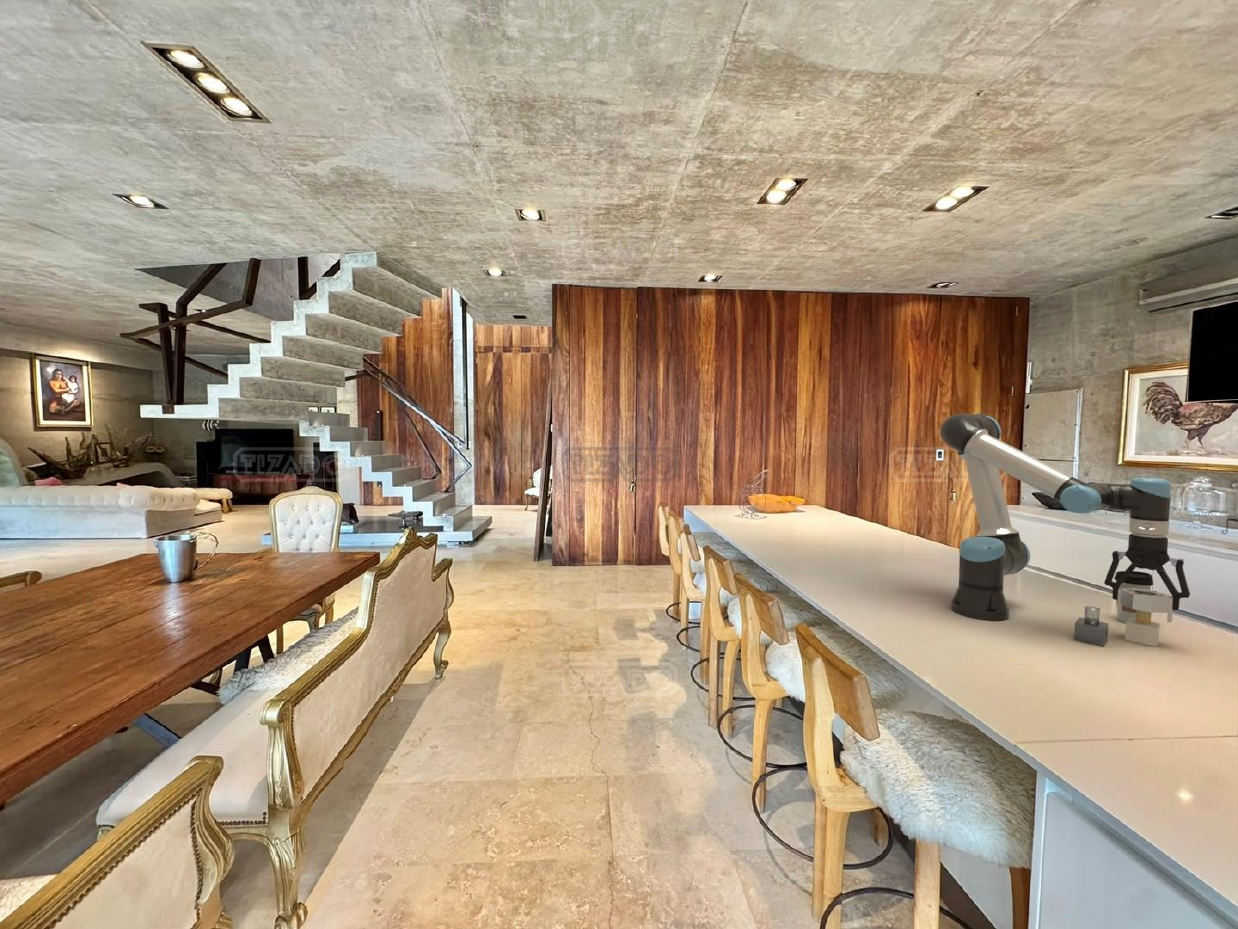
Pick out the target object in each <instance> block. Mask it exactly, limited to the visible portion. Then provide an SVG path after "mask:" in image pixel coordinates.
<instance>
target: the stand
mask: <svg viewBox="0 0 1238 929" xmlns="http://www.w3.org/2000/svg"><path fill="white" fill-rule="evenodd" d="M1100 613H1101V608H1099V607H1096V606H1093V605H1085V606H1084V617H1080V616H1079V617H1078V618H1077V619H1076V621H1075V622H1074V635H1073V636H1074V638H1073V640H1074V641H1077V642H1082V643H1084V644H1089V645H1090V644H1091V645H1093V646H1097V647H1098V646H1099V647H1103V648H1104V647H1105V646H1106V644H1107V643H1108V640H1109V639H1108V638H1109V623H1108V622H1103V621H1100V617H1101V616H1100Z"/></svg>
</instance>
